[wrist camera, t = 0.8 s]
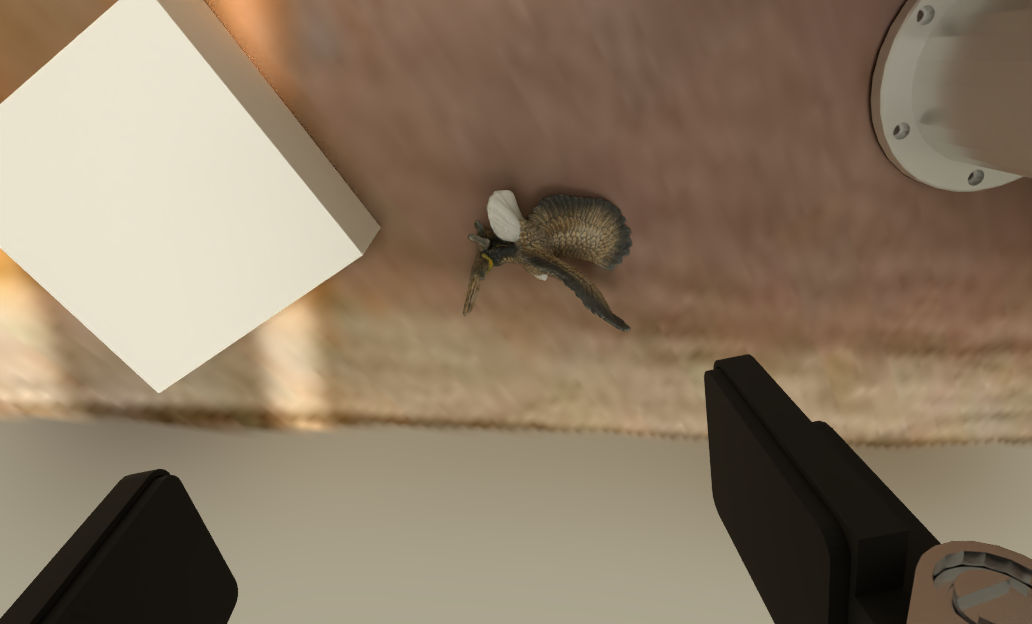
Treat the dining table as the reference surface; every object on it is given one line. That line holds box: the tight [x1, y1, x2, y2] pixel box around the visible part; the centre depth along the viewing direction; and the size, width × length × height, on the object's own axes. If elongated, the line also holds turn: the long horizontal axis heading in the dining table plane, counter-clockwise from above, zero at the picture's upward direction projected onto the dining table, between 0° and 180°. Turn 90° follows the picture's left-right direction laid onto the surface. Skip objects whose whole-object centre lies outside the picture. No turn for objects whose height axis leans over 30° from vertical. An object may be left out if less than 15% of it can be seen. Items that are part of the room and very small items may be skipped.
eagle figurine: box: [463, 190, 632, 331], centre depth 31 cm, size 8×7×9 cm
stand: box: [0, 0, 381, 393], centre depth 29 cm, size 14×14×5 cm
